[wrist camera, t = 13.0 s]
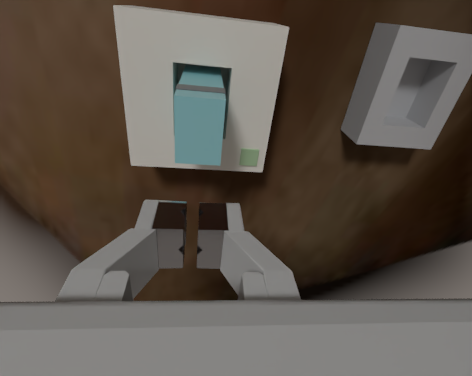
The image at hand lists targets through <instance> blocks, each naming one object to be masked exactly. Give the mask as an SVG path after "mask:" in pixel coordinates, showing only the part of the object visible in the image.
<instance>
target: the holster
mask: <svg viewBox="0 0 472 376" xmlns="http://www.w3.org/2000/svg"><path fill="white" fill-rule="evenodd" d="M471 74H472V34H464V33H457V32H449V31H441V30H434V29H426V28H419V27H411V26H403V25H394V24H385V23H376V24H375V27H374V30H373V33H372V36H371V39H370V42H369V45H368V48H367V51H366V54H365V57H364V61H363V64H362V67H361V70H360V73H359V76H358V79H357V82H356V85H355V88H354V91H353V94H352V97H351V100H350V103H349V106H348V109H347V112H346V115H345V118H344V121H343V124H342V127H341V130H342V131H343V132H344V133H345V134H346V135H347V136H348V137H349V138H350V139H351V140H352V141H353V142H354V143H355V144H360V145H374V146H388V147H403V148H417V149H431V148H432V146H433V144H434V143H435V141H436V139H437V137H438V135H439V133H440V131H441V130H442V128H443V126H444V124H445V122H446V120H447V118H448V116H449V115H450V113H451V111H452V109H453V107H454V105H455V103H456V102H457V100H458V98H459V96H460V94H461V92H462V90H463V89H464V87H465V85H466V83H467V81H468V79H469V77H470V76H471Z"/></svg>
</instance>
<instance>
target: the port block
mask: <svg viewBox="0 0 472 376" xmlns="http://www.w3.org/2000/svg"><path fill="white" fill-rule="evenodd" d="M113 9H114V18H115V27H116V36H117V45H118V54H119V63H120V72H121V81H122V90H123V99H124V108H125V116H126V125H127V134H128V143H129V152H130V161H131V166H150V167H169V168H188V169H206V170H225V171H244V172H263V167H264V161H265V156H266V150H267V145H268V139H269V134H270V129H271V123H272V118H273V112H274V107H275V101H276V96H277V91H278V85H279V80H280V74H281V69H282V63H283V58H284V53H285V47H286V42H287V36H288V31H289V27H287V26H283V25H279V24H276V23H268V22H260V21H252V20H244V19H236V18H228V17H220V16H212V15H204V14H196V13H188V12H180V11H172V10H164V9H156V8H148V7H140V6H132V5H113ZM186 64H187V65H197V66H207V67H217V68H220V70H221V75H222V81H223V86H224V88H225V92H226V95H225V97H226V106H225V117H224V129H223V140H222V152H221V163H220V166H218V165H200V164H182V163H175V132H174V94H175V92H176V86H177V84H179V81H180V79H181V76H182V73H183V71H184V68H185V65H186Z"/></svg>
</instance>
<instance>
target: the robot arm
mask: <svg viewBox="0 0 472 376" xmlns="http://www.w3.org/2000/svg"><path fill="white" fill-rule="evenodd" d="M186 214H187V202H180V201H163V200H160V201H159V200H145V201H144V202H143V205H142V208H141V211H140V214H139V217H138V220H137V223H136V226H135V229H129V230H128V231H126V232H125V233H123V234H122V235H120V236H119V237H118V238H116V239H115V240H113V241H112V242H110V243H109V244H107V245H106V246H105V247H103V248H102V249H100V250H99V251H97V252H96V253H95V254H93V255H92V256H90V257H89V258H87V259H86V260H84V261H83V262H82V263H80V264H79V265H77V266H76V267H74V268H73V269H72V270H71V272H70V274H69V276H68V278H67V280H66V282H65V283H64V286H63V287H62V289H61V291H60V293H59V295H58V297H57V299H56V301H55V302H0V376H472V299H371V300H370V299H366V300H365V299H364V300H363V299H361V300H301V298H300V295H299V292H298V289H297V285H296V282H295V279H294V276H293V273H292V271H291V270H290V269H289V268H288V267H287V266H286V265H285V264H284V263H282V262H281V261H280V260H279V259H278V258H277V257H276V256H275V255H274V254H272V253H271V252H270V251H269V250H268V249H267V248H266V247H265V246H264V245H263V244H261V243H260V242H259V241H258V240H257V239H256V238H255V237H254V236H253V235H251V234H250V233H249V232H247V231H244V226H243V220H242V214H241V208H240V204H239V203H200V206H199V226H198V248H197V268H210V269H220V271H221V272H222V273H223V275H224V276H225V278H226V279H227V281H228V282H229V283H230V285H231V286H232V288H233V289H234V291H235V292H236V293H237V295H238V300H215V301H133V299H134V297H135V296H136V295H137V294H138V293H139V292H140V291H141V289H142V288H143V287H144V286H145V285H146V284H147V283H148V281H149V280H150V279H151V278H152V277H153V276H154V275H155V273H156V272H157V271H158V270H159V268H183V263H184V251H185V243H186V227H187V220H186Z"/></svg>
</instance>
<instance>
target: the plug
mask: <svg viewBox="0 0 472 376" xmlns="http://www.w3.org/2000/svg"><path fill="white" fill-rule="evenodd" d="M225 95H226V92H225V88H224V86H223V81H222V75H221V70H220V68H217V67H207V66H197V65H187V64H186V65H185V68H184V71H183V73H182V76H181V79H180V81H179V84H177V86H176V92H175V94H174V132H175V163H182V164H200V165H218V166H220V163H221V152H222V140H223V129H224V117H225V106H226V97H225Z"/></svg>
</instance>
